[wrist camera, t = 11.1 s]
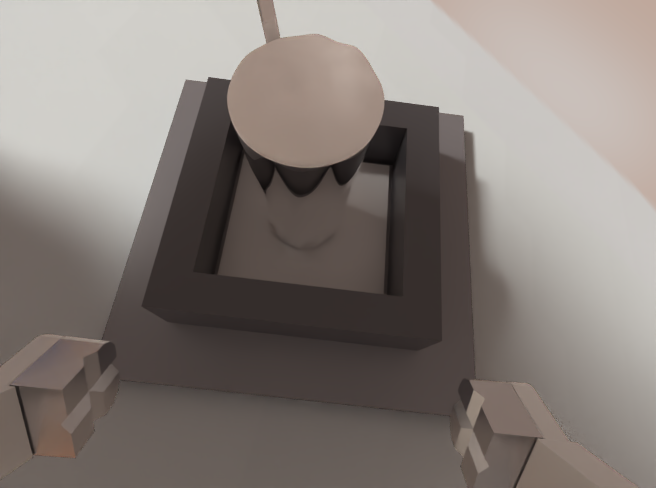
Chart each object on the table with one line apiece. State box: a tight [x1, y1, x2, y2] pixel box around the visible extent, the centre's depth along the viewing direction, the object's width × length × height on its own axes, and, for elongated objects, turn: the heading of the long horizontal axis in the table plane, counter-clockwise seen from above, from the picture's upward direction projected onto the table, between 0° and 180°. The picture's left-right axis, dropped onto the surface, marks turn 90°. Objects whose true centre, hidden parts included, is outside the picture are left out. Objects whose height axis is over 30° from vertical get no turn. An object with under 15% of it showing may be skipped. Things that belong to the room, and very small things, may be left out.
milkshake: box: [227, 0, 384, 249], centre depth 14 cm, size 4×5×10 cm
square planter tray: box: [102, 77, 475, 416], centre depth 18 cm, size 16×16×4 cm
